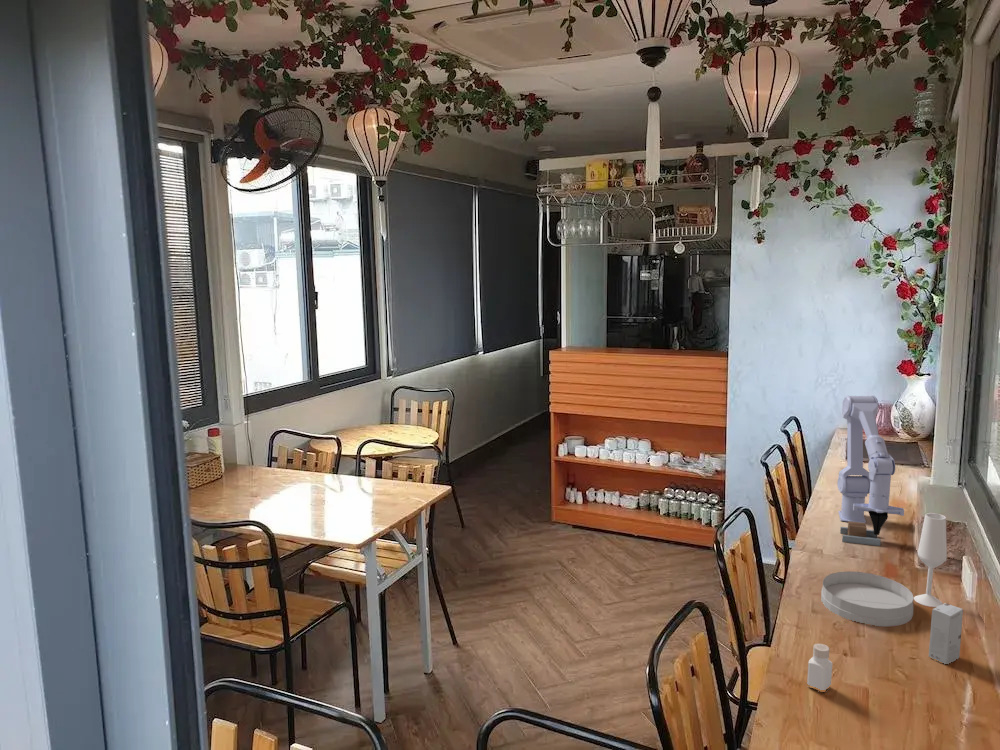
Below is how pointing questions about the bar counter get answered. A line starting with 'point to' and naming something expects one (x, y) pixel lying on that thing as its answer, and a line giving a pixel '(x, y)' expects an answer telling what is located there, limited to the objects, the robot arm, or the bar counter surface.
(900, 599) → the dish
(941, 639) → the skincare box
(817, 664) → the pepper shaker
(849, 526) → the walnut block
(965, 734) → the bar counter surface
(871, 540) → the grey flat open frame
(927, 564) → the champagne flute
